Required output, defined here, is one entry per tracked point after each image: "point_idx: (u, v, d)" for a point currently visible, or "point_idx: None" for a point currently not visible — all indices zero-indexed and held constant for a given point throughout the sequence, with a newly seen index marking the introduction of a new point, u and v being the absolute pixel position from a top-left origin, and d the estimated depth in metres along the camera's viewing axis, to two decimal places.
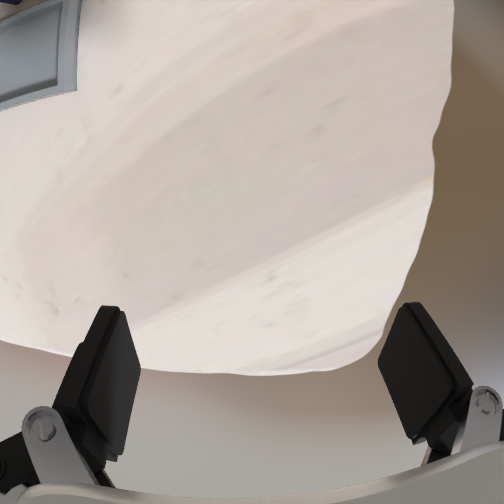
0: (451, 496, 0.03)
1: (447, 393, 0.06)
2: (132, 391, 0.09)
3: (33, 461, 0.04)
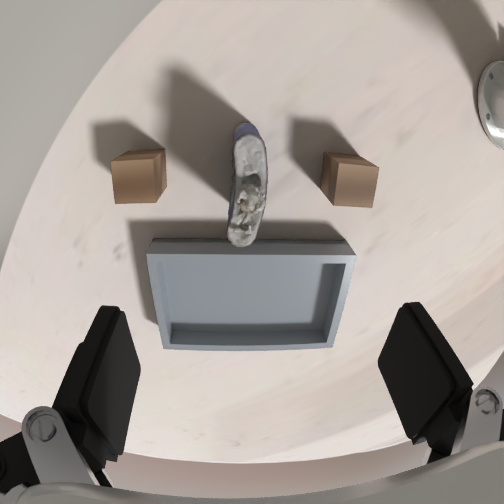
0: (451, 496, 0.03)
1: (447, 393, 0.06)
2: (132, 391, 0.09)
3: (33, 461, 0.04)
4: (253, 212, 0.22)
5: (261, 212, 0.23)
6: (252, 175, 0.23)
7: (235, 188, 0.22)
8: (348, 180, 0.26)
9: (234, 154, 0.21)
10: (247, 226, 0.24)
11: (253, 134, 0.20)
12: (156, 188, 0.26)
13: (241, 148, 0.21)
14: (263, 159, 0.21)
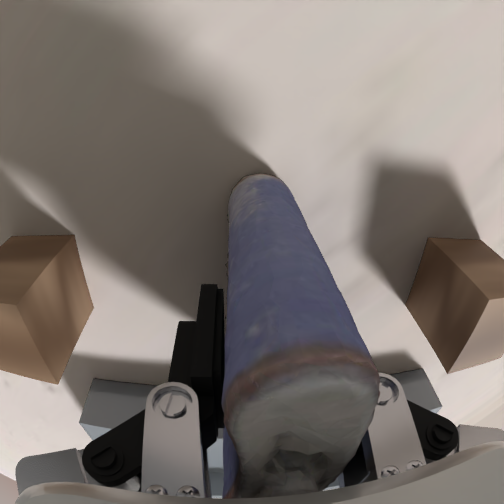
0: (451, 496, 0.03)
1: None
2: (224, 367, 0.10)
3: (145, 432, 0.05)
4: None
5: None
6: None
7: (242, 481, 0.05)
8: (489, 328, 0.09)
9: (234, 435, 0.04)
10: None
11: (338, 357, 0.04)
12: (52, 353, 0.09)
13: (269, 420, 0.04)
14: (361, 432, 0.04)
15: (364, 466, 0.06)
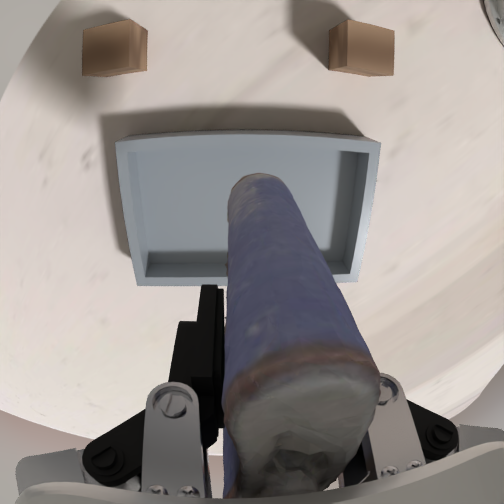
0: (451, 496, 0.03)
1: None
2: (224, 367, 0.10)
3: (145, 432, 0.05)
4: None
5: None
6: None
7: (242, 481, 0.05)
8: (360, 39, 0.18)
9: (234, 435, 0.04)
10: None
11: (338, 356, 0.03)
12: (131, 53, 0.18)
13: (269, 420, 0.04)
14: (362, 432, 0.04)
15: (364, 466, 0.06)
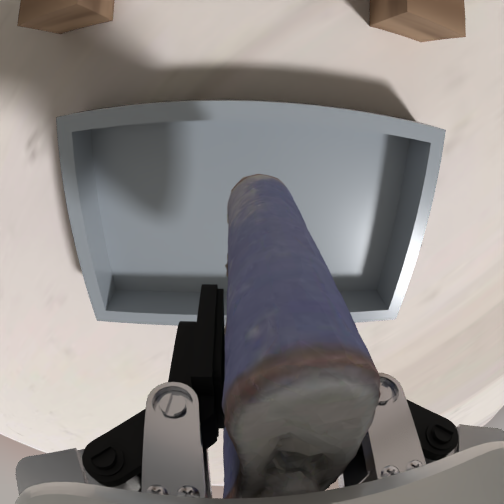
0: (451, 496, 0.03)
1: None
2: (224, 367, 0.10)
3: (145, 432, 0.05)
4: None
5: None
6: None
7: (243, 482, 0.05)
8: None
9: (235, 437, 0.04)
10: None
11: (339, 359, 0.04)
12: None
13: (269, 422, 0.04)
14: (362, 434, 0.04)
15: (364, 466, 0.06)
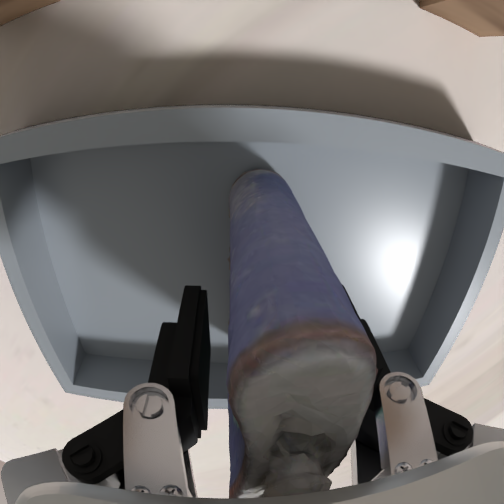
0: (451, 496, 0.03)
1: None
2: (209, 368, 0.10)
3: (125, 434, 0.05)
4: None
5: None
6: None
7: (248, 465, 0.06)
8: None
9: (239, 414, 0.04)
10: None
11: (334, 333, 0.04)
12: None
13: (271, 397, 0.04)
14: (361, 411, 0.04)
15: (378, 465, 0.06)
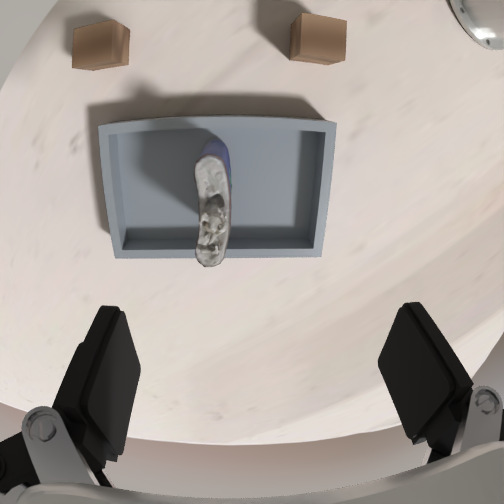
0: (451, 496, 0.03)
1: (447, 393, 0.06)
2: (132, 391, 0.09)
3: (33, 461, 0.04)
4: (218, 233, 0.22)
5: (227, 232, 0.23)
6: (216, 195, 0.23)
7: (199, 210, 0.22)
8: (313, 29, 0.20)
9: (195, 176, 0.21)
10: (214, 246, 0.24)
11: (213, 155, 0.21)
12: (114, 49, 0.20)
13: (201, 170, 0.21)
14: (225, 179, 0.21)
15: None
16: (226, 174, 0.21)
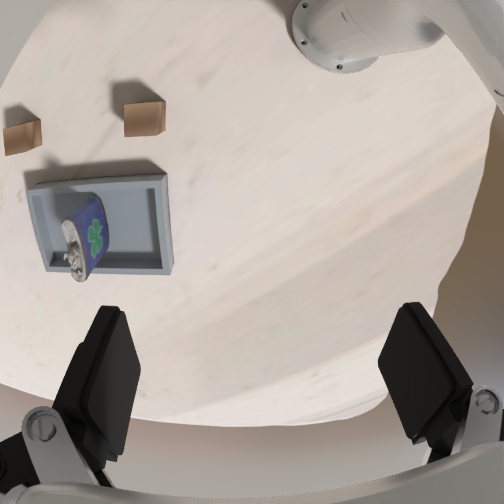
0: (451, 496, 0.03)
1: (447, 393, 0.06)
2: (132, 391, 0.09)
3: (33, 461, 0.04)
4: (77, 263, 0.34)
5: (84, 262, 0.34)
6: None
7: (68, 249, 0.33)
8: (132, 116, 0.31)
9: (62, 231, 0.32)
10: (80, 270, 0.35)
11: (68, 219, 0.32)
12: (25, 143, 0.31)
13: (64, 228, 0.32)
14: (76, 233, 0.32)
15: None
16: (76, 230, 0.32)
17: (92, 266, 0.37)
